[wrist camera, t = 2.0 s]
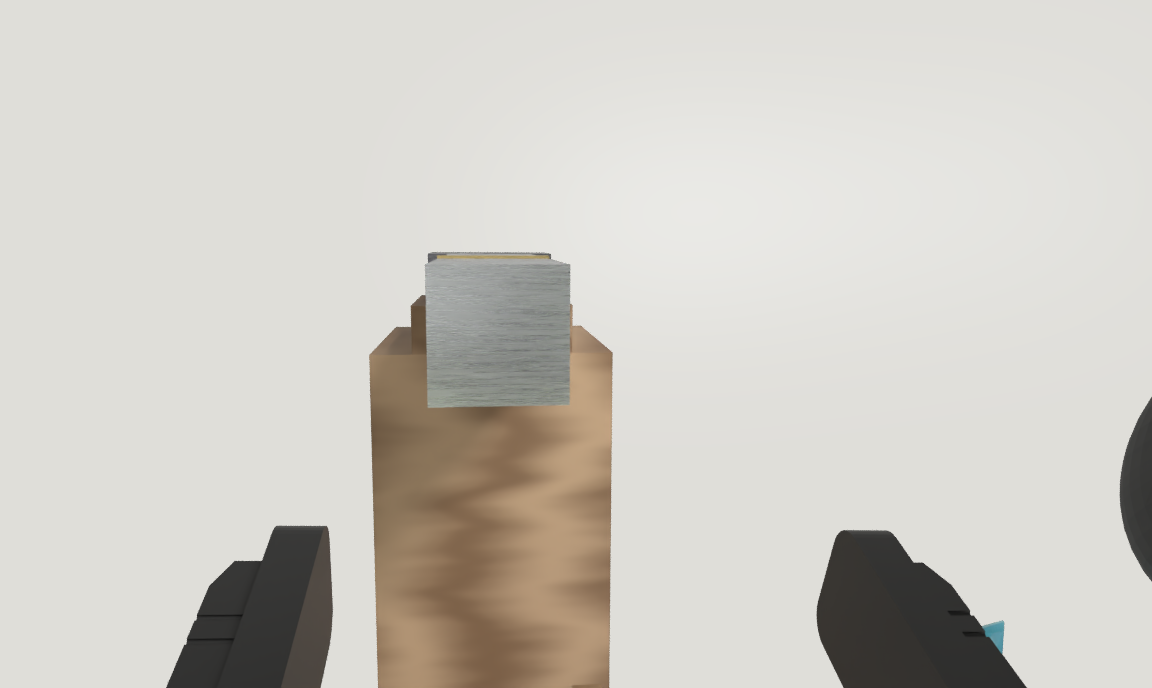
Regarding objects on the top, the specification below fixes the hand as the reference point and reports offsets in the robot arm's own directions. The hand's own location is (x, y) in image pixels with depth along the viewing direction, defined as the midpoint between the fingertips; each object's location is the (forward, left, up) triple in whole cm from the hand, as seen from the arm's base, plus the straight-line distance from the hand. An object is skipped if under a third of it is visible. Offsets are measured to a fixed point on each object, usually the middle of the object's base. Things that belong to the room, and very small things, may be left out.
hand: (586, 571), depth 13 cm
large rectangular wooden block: (+1, -27, -32) cm, 42 cm away
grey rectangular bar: (+1, -22, +1) cm, 22 cm away
